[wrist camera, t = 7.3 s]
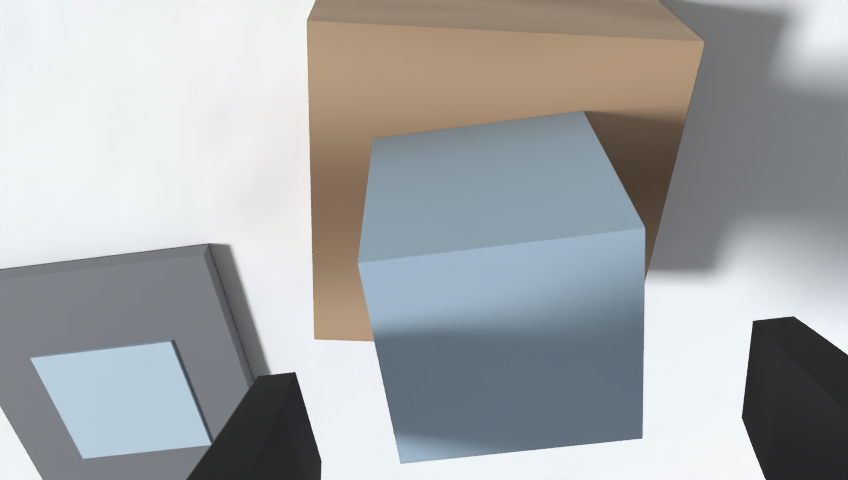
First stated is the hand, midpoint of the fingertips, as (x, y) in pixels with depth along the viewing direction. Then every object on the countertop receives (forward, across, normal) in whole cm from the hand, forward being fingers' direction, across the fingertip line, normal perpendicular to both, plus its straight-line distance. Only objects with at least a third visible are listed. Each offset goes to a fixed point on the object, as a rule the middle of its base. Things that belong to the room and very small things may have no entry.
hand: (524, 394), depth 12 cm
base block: (+10, 0, 0) cm, 10 cm away
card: (+10, +12, +7) cm, 17 cm away
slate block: (+6, 0, 0) cm, 6 cm away
